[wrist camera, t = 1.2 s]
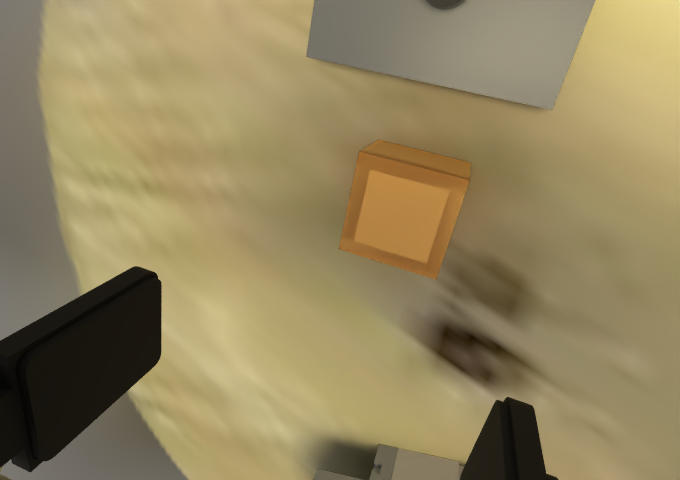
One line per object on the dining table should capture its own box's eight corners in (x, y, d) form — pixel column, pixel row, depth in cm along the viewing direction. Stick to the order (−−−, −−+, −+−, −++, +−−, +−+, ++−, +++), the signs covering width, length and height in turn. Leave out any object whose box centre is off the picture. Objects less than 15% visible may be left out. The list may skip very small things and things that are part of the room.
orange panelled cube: (470, 162, 25) (469, 180, 21) (442, 247, 28) (436, 279, 23) (378, 139, 27) (359, 151, 22) (359, 223, 29) (338, 249, 25)
